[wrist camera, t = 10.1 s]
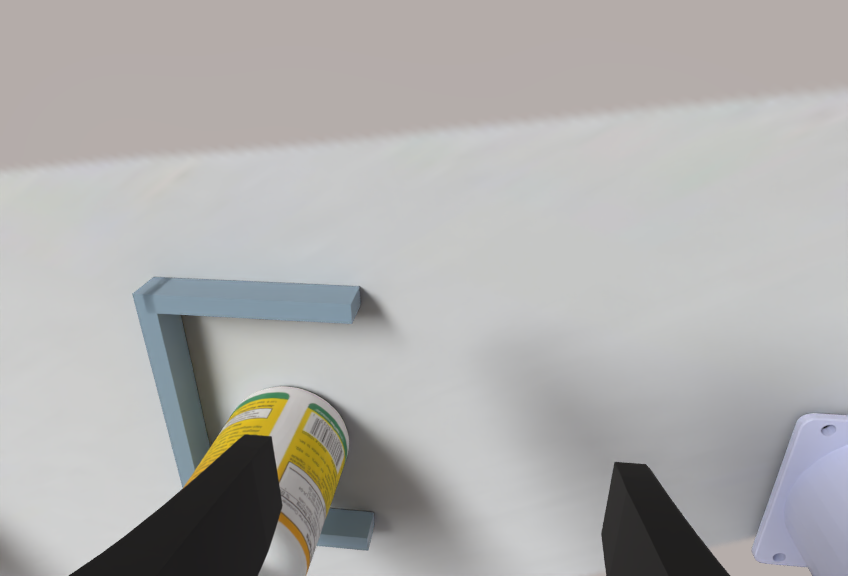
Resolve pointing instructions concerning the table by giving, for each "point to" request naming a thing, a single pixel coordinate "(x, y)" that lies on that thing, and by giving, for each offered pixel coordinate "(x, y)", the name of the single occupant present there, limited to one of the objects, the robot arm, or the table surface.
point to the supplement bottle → (292, 466)
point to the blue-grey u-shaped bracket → (175, 375)
